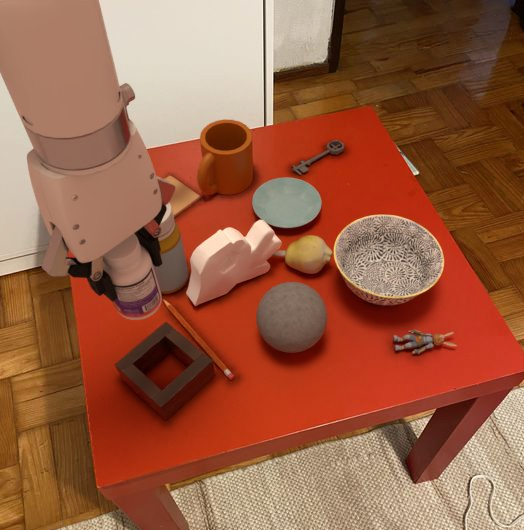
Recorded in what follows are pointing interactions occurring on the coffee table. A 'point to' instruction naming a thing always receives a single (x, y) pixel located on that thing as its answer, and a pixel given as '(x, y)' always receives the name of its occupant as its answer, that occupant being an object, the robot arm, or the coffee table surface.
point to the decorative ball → (291, 317)
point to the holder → (151, 354)
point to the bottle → (171, 256)
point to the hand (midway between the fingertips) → (128, 274)
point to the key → (329, 150)
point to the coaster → (181, 196)
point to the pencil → (199, 341)
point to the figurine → (421, 341)
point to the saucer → (286, 202)
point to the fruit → (307, 254)
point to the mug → (225, 158)
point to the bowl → (388, 259)
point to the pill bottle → (133, 279)
